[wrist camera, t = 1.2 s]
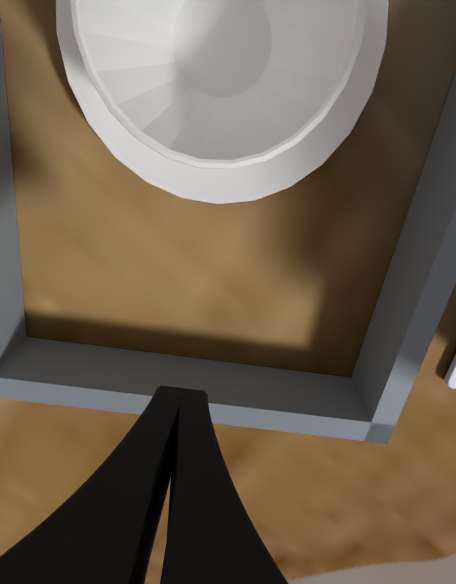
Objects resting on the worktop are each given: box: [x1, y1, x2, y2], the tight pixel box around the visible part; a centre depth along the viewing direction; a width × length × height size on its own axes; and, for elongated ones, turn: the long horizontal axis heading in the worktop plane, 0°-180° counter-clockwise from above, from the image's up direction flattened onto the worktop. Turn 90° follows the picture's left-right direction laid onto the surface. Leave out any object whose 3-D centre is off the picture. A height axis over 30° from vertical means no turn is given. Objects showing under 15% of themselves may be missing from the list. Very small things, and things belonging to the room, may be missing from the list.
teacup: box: [56, 0, 389, 204], centre depth 13 cm, size 12×12×5 cm
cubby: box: [0, 21, 456, 444], centre depth 16 cm, size 20×24×4 cm
